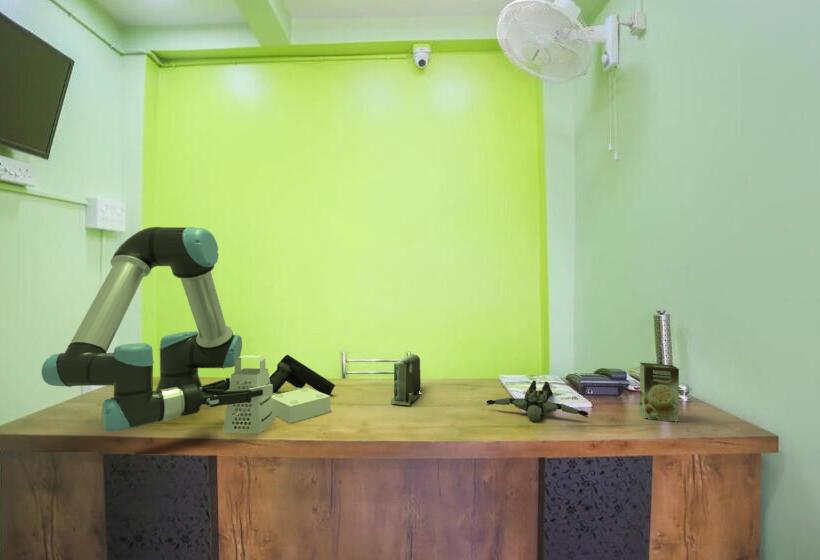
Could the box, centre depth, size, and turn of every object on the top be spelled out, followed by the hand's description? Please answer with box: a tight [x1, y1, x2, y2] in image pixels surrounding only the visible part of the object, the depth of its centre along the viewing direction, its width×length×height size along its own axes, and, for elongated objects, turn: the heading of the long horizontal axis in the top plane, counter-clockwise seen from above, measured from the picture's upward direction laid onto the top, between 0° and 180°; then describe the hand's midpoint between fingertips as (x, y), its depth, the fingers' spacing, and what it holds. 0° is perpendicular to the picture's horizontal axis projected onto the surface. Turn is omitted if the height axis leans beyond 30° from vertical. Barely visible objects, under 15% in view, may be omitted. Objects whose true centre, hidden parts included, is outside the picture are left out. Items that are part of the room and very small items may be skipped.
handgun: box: [269, 354, 336, 396], centre depth 142 cm, size 2×24×15 cm, turn 79°
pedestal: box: [272, 387, 332, 424], centre depth 123 cm, size 14×14×5 cm
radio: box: [390, 353, 422, 406], centre depth 140 cm, size 23×9×15 cm, turn 159°
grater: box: [222, 354, 276, 435], centre depth 111 cm, size 10×10×20 cm
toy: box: [486, 380, 589, 422], centre depth 127 cm, size 30×8×30 cm
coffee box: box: [638, 362, 680, 422], centre depth 118 cm, size 9×6×16 cm
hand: (262, 384), depth 114 cm, fingers open, 12 cm apart
